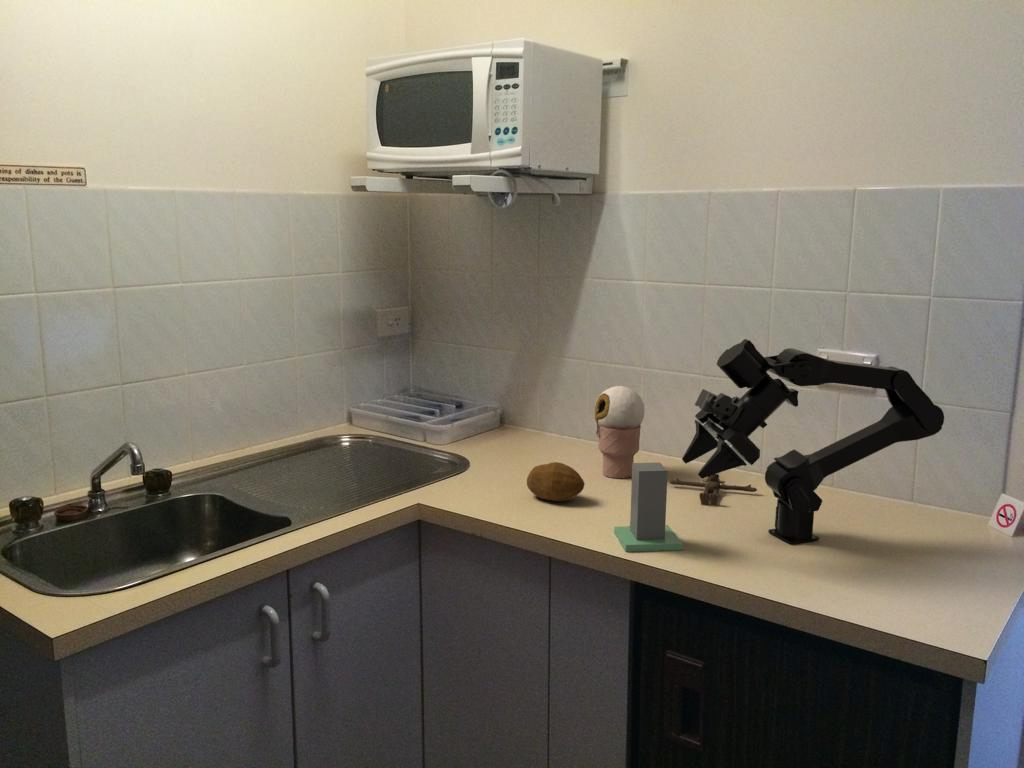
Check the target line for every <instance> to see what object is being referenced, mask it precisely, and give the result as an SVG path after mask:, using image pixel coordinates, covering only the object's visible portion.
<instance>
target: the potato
mask: <svg viewBox="0 0 1024 768" xmlns="http://www.w3.org/2000/svg"><path fill="white" fill-rule="evenodd" d="M526 486H527V488H528V489H529V491H530V492H531V493H532V494H533V495H534V496H535V497H537V498H540V499H542V500H547V501H554V502H565V501H567V500H571V499H573V498H574V497H575V496H578V495H579V494H580V493H582V492H583V490H584V488H585V481H584V479H583V478H582V476H581V475H580V473H579V472H577V471H576V469H574V468H573V467H571V466H570V465H567V464H565V463H563V462H558V461H557V462H556V461H554V462H549V463H544V464H539V465H537V466H533V468H532V469H531V470H530V471H529V474H528V475H527V479H526Z"/></svg>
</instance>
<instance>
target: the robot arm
mask: <svg viewBox="0 0 1024 768" xmlns="http://www.w3.org/2000/svg"><path fill="white" fill-rule="evenodd" d="M716 366H717V367H718V368H719V369H720V370H721V371H722V372H723V373H724V375H726V377H728V378H729V379H730V380H731V382H732V383H733V384H734V385H735V386H736V387H737V388H738V389H743V388H746V389H747V391H746V392H745V393H744V394H743V395H742V396H741V397H739V396H733V397H731V396H729V395H727V394H725V393H723V392H721V393H718V395H717V394H715V393H713V392H710V391H708V390H706V389H704V388H702V389H701V391H700V393H699V395H698V397H697V400H696V402H695V403H694V406H696V407H699V409H700V410H699V411H698V412H697V413H696V414H695V415H694V417H695V420H694V424H695V435H694V436H693V438H692V440H691V442H690V443H689V445H688V447H687V449H686V451H685V452H684V455H683V457H681V460H682V462H683V463H685V464H688V463H690V462H692V461H694V460H696V459H698V458H700V457H702V456H704V455H706V454H707V453H709V452H712V450H714V449H716V450H715V451H714V453H713V454H712V455H711V456H710V457H709V459H708V460H707V461H706V462H705V464H704V465H703V466H702V467H701V468H700V470H699V472H698V473H697V475H698V476H699V477H700V478H701V479H702V480H704V479H705V478H706V479H707V478H708V477H709V476H711V475H714V474H719V473H723V472H725V471H729V470H732V469H735V468H739V467H742V466H744V467H746V466H747V465H748V464H750V465H751V466H753V465H754V463H756V462H757V461H758V460H759V459H760V458H761V457H760V456H761V449H760V448H759V446H757V445H756V443H754V442H753V440H751V439H750V438H749V437H750V436H751V435H752V434H753V433H754V432H755V431H756V430H757V429H758V428H759V427H760V428H761V429H765V428H766V427H767V425H768V423H767V422H766V421H767V420H768V418H770V417H771V416H772V415H773V413H775V412H776V410H778V409H779V408H780V407H781V406H782V405H783V403H784V404H785V402H786V403H787V404H789V405H791V406H793V407H794V408H795V407H798V406H799V398H798V397H799V396H798V395H799V390H797V389H795V388H789V387H788V386H787V385H786V384H785V382H784V381H786V382H788V383H791V384H793V385H795V386H799V387H813V386H815V387H816V386H821V385H822V386H823V385H826V384H840V385H847V386H856V387H862V388H863V387H864V388H872V389H879V390H884V391H885V395H886V397H887V398H886V399H887V400H888V402H889V404H890V405H891V406H890V408H889V409H888V410H886V412H885V414H884V415H883V416H882V417H881V419H879V420H878V421H876V422H874V423H872V424H870V425H869V426H868V425H867V426H866V427H864V428H862V429H860V430H858V431H855V432H854V433H852V434H849V435H847V436H845V437H842V438H841V439H839V440H837V441H835V442H833V443H831V444H829V445H827V446H825V447H822V448H821V449H819V450H817V451H815V452H813V453H810V454H802V453H801V452H799V451H798V450H796V449H792V450H789V451H788V452H787V453H785V454H783V455H782V456H778V457H773V459H774V461H773V462H772V463H769V465H768V466H767V467H766V471H765V473H764V481H765V484H766V486H767V487H768V488H769V489H770V490H772V493H773V496H774V497H775V498H777V501H776V507H775V519H774V528H769V529H768V531H767V532H768V533H769V534H770V535H772V536H773V537H776V538H778V539H780V540H782V541H784V542H785V543H788V544H790V545H793V544H795V545H796V544H800V543H807V542H814V541H819V540H820V536H818V535H817V534H814V532H813V530H814V519H815V517H814V516H815V512H819V510H820V508H821V506H822V503H823V499H822V498H821V497H820V496H819V495H818V494H817V493H816V492H815V490H817V488H818V487H819V486H820V485H821V484H822V482H823V481H824V479H825V478H827V477H828V476H831V475H832V474H834V473H836V472H839V471H842V470H843V469H845V468H847V467H849V466H851V465H853V464H855V463H857V462H860V461H861V460H863V459H865V458H868V457H870V456H871V455H874V454H876V453H878V452H879V451H882V450H884V449H885V448H888V447H890V446H892V445H894V444H896V443H902V442H912V441H918V440H922V439H924V438H928V437H933V436H934V435H937V434H938V433H939V432H940V431H941V430H943V425H944V421H945V413H944V411H943V410H942V407H940V406H938V405H936V404H934V402H933V401H932V400H931V398H930V397H929V395H928V394H926V393H925V391H924V390H923V389H922V388H921V387H920V386H919V385H918V384H917V382H916V381H915V380H914V378H913V377H912V375H911V373H909V372H908V371H907V370H905V369H901V368H898V367H895V366H879V365H872V364H863V363H855V362H848V361H842V360H841V361H839V360H835V359H834V360H832V359H827V358H824V357H822V356H818V355H815V354H811V353H809V352H806V351H803V350H801V349H796V348H792V347H791V348H789V347H788V348H785V349H783V350H782V351H780V352H779V353H778V354H776V355H775V354H774V355H770V356H763V355H762V354H761V353H760V352H759V351H758V349H757V348H756V346H755V344H754V343H753V342H752V340H749V339H747V338H744V339H743V340H741V342H740V343H737V344H734V345H733V346H731V347H729V348H728V349H726V350H725V351H723V352H722V354H721V355H720V356H719V358H718V359H717V361H716ZM768 372H769V373H772V374H774V375H776V376H777V377H778V378H773V377H772V376H771V375H770V374H769V373H768ZM783 380H784V381H783ZM696 419H697V420H696ZM726 441H727V442H726ZM746 462H747V463H748V464H747V463H746Z"/></svg>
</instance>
